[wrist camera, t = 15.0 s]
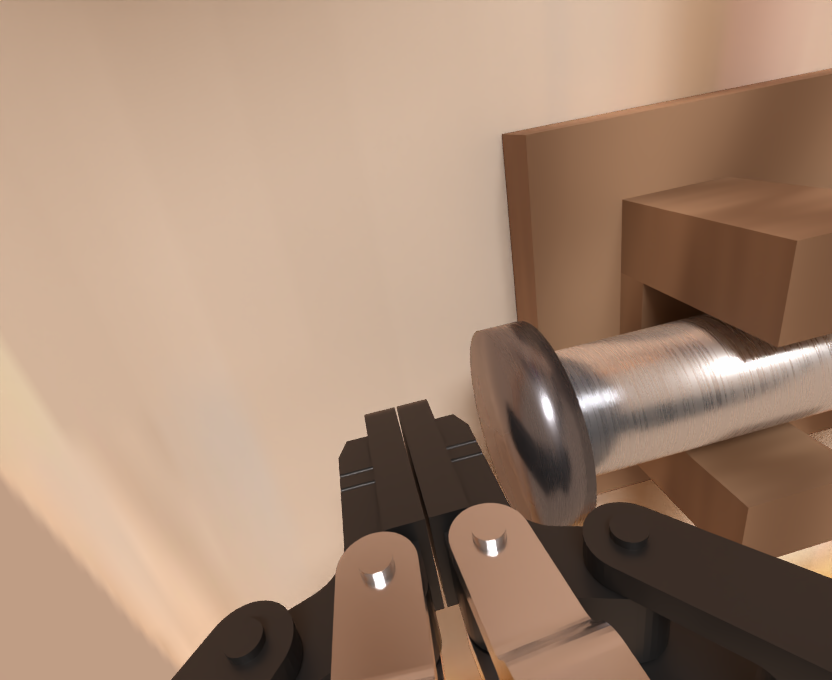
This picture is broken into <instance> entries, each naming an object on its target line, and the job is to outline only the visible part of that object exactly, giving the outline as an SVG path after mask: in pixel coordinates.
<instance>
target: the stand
mask: <svg viewBox="0 0 832 680" xmlns="http://www.w3.org/2000/svg"><path fill="white" fill-rule="evenodd" d="M502 140H503V152H504V164H505V176H506V187H507V199H508V211H509V223H510V235H511V247H512V259H513V271H514V282H515V294H516V306H517V318H518V321H526V322H528V323H530V324H532V325H533V326H534V327H535V328H537V329H538V330H539V331H540V332H541V334H542V335H543V336H544V337H545V338H546V340H547V341H548V342H549V343H550V345H551V346H552V348H553V350H554V351H557V350H561V349H565V348H569V347H573V346H577V345H581V344H585V343H589V342H593V341H597V340H601V339H605V338H609V337H613V336H617V335H621V334H625V333H629V332H633V331H637V330H641V329H645V328H649V327H653V326H657V325H661V324H665V323H669V322H673V321H677V320H681V319H685V318H689V317H693V316H697V315H701V314H705V313H706V314H709V315H711V316H713V317H715V318H717V319H719V320H721V321H723V322H725V323H727V324H730V325H732V326H734V327H736V328H738V329H740V330H742V331H744V332H746V333H748V334H750V335H753V336H755V337H757V338H759V339H761V340H763V341H765V342H767V343H769V344H771V345H774V346H776V347H782V346H786V345H790V344H793V343H797V342H801V341H805V340H809V339H812V338H816V337H820V336H824V335H828V334H831V333H832V68H831V69H826V70H821V71H816V72H811V73H806V74H801V75H796V76H791V77H786V78H781V79H776V80H771V81H766V82H761V83H756V84H751V85H746V86H741V87H736V88H731V89H726V90H721V91H716V92H711V93H706V94H701V95H696V96H691V97H686V98H681V99H676V100H671V101H666V102H661V103H656V104H651V105H646V106H641V107H636V108H631V109H626V110H621V111H616V112H611V113H606V114H601V115H596V116H591V117H586V118H581V119H576V120H571V121H566V122H561V123H556V124H551V125H546V126H541V127H536V128H531V129H526V130H521V131H516V132H511V133H506V134H502ZM830 428H832V410H830V411H826V412H823V413H819V414H816V415H812V416H808V417H805V418H801V419H798V420H794V421H791V422H787V423H784V424H780V425H776V426H773V427H769V428H766V429H762V430H759V431H755V432H751V433H748V434H744V435H741V436H737V437H734V438H730V439H726V440H723V441H719V442H716V443H712V444H709V445H705V446H702V447H698V448H694V449H691V450H687V451H684V452H680V453H677V454H673V455H669V456H666V457H662V458H659V459H655V460H652V461H648V462H644V463H641V464H637V465H634V466H630V467H627V468H623V469H620V470H616V471H612V472H609V473H605V474H602V475H598V476H596V482H597V495H598V494H601V493H605V492H608V491H612V490H615V489H619V488H622V487H626V486H630V485H633V484H637V483H640V482H644V481H647V480H651V479H652V480H653V482H654V483H655V484H656V485H657V486H658V487H659V488H660V489H661V490H662V491H663V492H664V493H665V494H666V495H667V496H668V497H669V498H670V499H671V500H672V501H673V503H674V504H675V505H676V506H677V507H678V508H679V509H680V510H681V511H682V512H683V513H684V514H685V515H686V516H687V517H688V518H689V519H690V520H691V521H692V522H693V524H694V525H695V526H696V527H698V528H700V529H703V530H705V531H708V532H711V533H713V534H716V535H719V536H721V537H724V538H726V539H729V540H732V541H734V542H737V543H740V544H742V545H745V546H747V547H750V548H753V549H755V550H758V551H760V552H763V553H766V554H768V555H771V556H774V557H779V556H783V555H786V554H789V553H792V552H795V551H799V550H802V549H805V548H808V547H812V546H815V545H818V544H821V543H824V542H828V541H831V540H832V449H830V448H828V447H827V446H825V445H824V444H822V443H820V442H819V441H817V440H816V439H814V438H812V437H811V436H809V434H812V433H816V432H819V431H823V430H826V429H830Z"/></svg>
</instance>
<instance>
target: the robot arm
mask: <svg viewBox="0 0 832 680" xmlns="http://www.w3.org/2000/svg"><path fill="white" fill-rule="evenodd" d="M397 411H398V416H399V420H400V425H401V429H402V433H401V430H400V426H399V422H398V419H397V415H396V412H395V408H390V409H386V410H382V411H378V412H374V413H370V414H366V415H365V422H366V428H367V434H368V436H367V437H363V438H359V439H355V440H351V441H347V442H346V444H345V446H344V448H343V450H342V452H341V454H340V457H339V471H340V487H341V502H342V518H343V533H344V554H343V555H342V556H341V558H340V560H339V562H338V565H337V568H336V574H335V575H334V577H333V578H332V579H331V580H330V581H329V583H328V584H327V585H326V586H324V587H323V588H322V589H321V590H320V591H318V592H317V593H316V594H314V595H313V596H311V597H309V598H308V599H306V600H304V601H303V602H301V603H300V604H298V605H296V606H295V607H293V608H291V609H290V610H287V609H286V608H285V607H284V606H282V605H281V604H279V603H277V602H273V601H257V602H252V603H249V604H247V605H244V606H242V607H240V608H238V609H236V610H235V611H233V612H232V613H230V614H229V615H228V616H227V617H225V618H224V619H223V620H222V621H221V622H220V623H219V624H218V625H217V626H216V627H215V628H214V629H213V631H212V632H211V633H210V634H209V635H208V637H207V638H206V639H205V640H204V641H203V643H202V644H201V645H200V646H199V647H198V649H197V650H196V651H195V652H194V653H193V654H192V656H191V657H190V658H189V659H188V660H187V662H186V663H185V664H184V665H183V666H182V668H181V669H180V670H179V671H178V672H177V673H176V675H175V676H174V677H173V678H172V680H446V679H445V673H444V667H443V660H442V655H441V647H442V641H441V634H440V630H439V626H438V621H437V617H436V613H435V611H437V610H440V609H444V604H443V599H442V595H441V590H440V586H439V581H438V576H437V572H436V567H435V563H434V558H435V562H436V566H437V569H438V573H439V577H440V581H441V584H442V588H443V592H444V595H445V599H446V603H447V606H448V607H450V606H453V605H456V604H459V606H460V610H461V613H462V617H463V620H464V623H465V627H466V633H467V638H468V643H469V646H470V650H471V652H472V655H473V658H474V660H475V663H476V666H477V668H478V671H479V674H480V676H481V679H482V680H832V579H831V578H829V577H826V576H823V575H821V574H818V573H816V572H813V571H810V570H808V569H805V568H802V567H800V566H797V565H795V564H792V563H789V562H787V561H784V560H781V559H779V558H776V557H774V556H771V555H768V554H766V553H763V552H760V551H758V550H755V549H753V548H750V547H747V546H745V545H742V544H740V543H737V542H734V541H732V540H729V539H726V538H724V537H721V536H719V535H716V534H713V533H711V532H708V531H705V530H703V529H700V528H698V527H695V526H692V525H690V524H687V523H685V522H682V521H679V520H677V519H674V518H671V517H669V516H666V515H664V514H661V513H658V512H656V511H653V510H650V509H648V508H645V507H642V506H639V505H636V504H631V503H623V502H616V503H608V504H604V505H601V506H599V507H597V508H595V509H594V510H592V511H591V512H590V513H589V514H588V515H587V517H586V518H585V520H584V523H583V526H548V525H542V524H538V523H535V522H532V521H530V520H527V519H525V518H524V517H523V516H522V515H521V514H520V513H519V512H518V511H516V510H515V509H513V508H511V506H510V505H509V503H508V502H507V500H506V498H505V496H504V494H503V492H502V490H501V488H500V486H499V484H498V482H497V480H496V478H495V476H494V474H493V472H492V471H491V469H490V467H489V465H488V463H487V461H486V459H485V457H484V455H483V454H482V451H481V449H480V447H479V445H478V443H477V442H476V439H475V437H474V435H473V433H472V431H471V429H470V427H469V425H468V424H467V423H465V422H464V421H462V420H461V419H459V418H458V417H456V416H455V415H454V414H453V415H449V416H445V417H441V418H437V419H434V416H433V414H432V411H431V409H430V406H429V404H428V402H427V400H426V399H425V400H421V401H417V402H413V403H409V404H405V405H401V406H397ZM402 434H403V437H402ZM403 438H404V441H403ZM404 443H405V444H404ZM405 447H406V448H405ZM431 547H432V549H431ZM432 551H433V553H432ZM433 555H434V558H433Z"/></svg>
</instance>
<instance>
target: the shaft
mask: <svg viewBox="0 0 832 680" xmlns="http://www.w3.org/2000/svg"><path fill="white" fill-rule="evenodd" d="M470 366H471V376H472V384H473V390H474V396H475V401H476V406H477V410H478V415H479V419H480V423H481V427H482V430H483V434H484V438H485V441H486V444H487V448H488V451H489V454H490V457H491V460H492V463H493V466H494V468H495V471H496V474H497V476H498V479H499V481H500V484H501V486H502V489H503V491H504V493H505V495H506V497H507V500H508V502H509V504H510V506H511V508H513V509H515V510H516V511H518V512H519V513H520V514H521V515H522V516H523V517H524V518H525V519H527V520H530V521H532V522H535V523H538V524H542V525H548V526H583V523H584V520H585V518H586V517H587V515H588V514H589V513H590V512H591V511H592V510H594V509H595V507H596V499H597V482H596V476H598V475H602V474H605V473H609V472H612V471H616V470H620V469H623V468H627V467H630V466H634V465H637V464H641V463H644V462H648V461H652V460H655V459H659V458H662V457H666V456H669V455H673V454H677V453H680V452H684V451H687V450H691V449H694V448H698V447H702V446H705V445H709V444H712V443H716V442H719V441H723V440H726V439H730V438H734V437H737V436H741V435H744V434H748V433H751V432H755V431H759V430H762V429H766V428H769V427H773V426H776V425H780V424H784V423H787V422H791V421H794V420H798V419H801V418H805V417H808V416H812V415H816V414H819V413H823V412H826V411H830V410H832V333H831V334H828V335H824V336H820V337H816V338H812V339H809V340H805V341H801V342H797V343H793V344H790V345H786V346H782V347H776V346H774V345H771V344H769V343H767V342H765V341H763V340H761V339H759V338H757V337H755V336H753V335H750V334H748V333H746V332H744V331H742V330H740V329H738V328H736V327H734V326H732V325H730V324H727V323H725V322H723V321H721V320H719V319H717V318H715V317H713V316H711V315H709V314H706V313H705V314H701V315H697V316H693V317H689V318H685V319H681V320H677V321H673V322H669V323H665V324H661V325H657V326H653V327H649V328H645V329H641V330H637V331H633V332H629V333H625V334H621V335H617V336H613V337H609V338H605V339H601V340H597V341H593V342H589V343H585V344H581V345H577V346H573V347H569V348H565V349H561V350H557V351H554V350H553V348H552V346H551V345H550V343H549V342H548V341H547V340H546V338H545V337H544V336H543V335H542V334H541V332H540V331H539V330H538V329H537V328H535V327H534V326H533V325H532V324H530V323H528V322H526V321H517V322H513V323H509V324H505V325H501V326H497V327H492V328H488V329H484V330H480V331H476V332H475V333H474V335H473V337H472V341H471V347H470Z"/></svg>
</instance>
